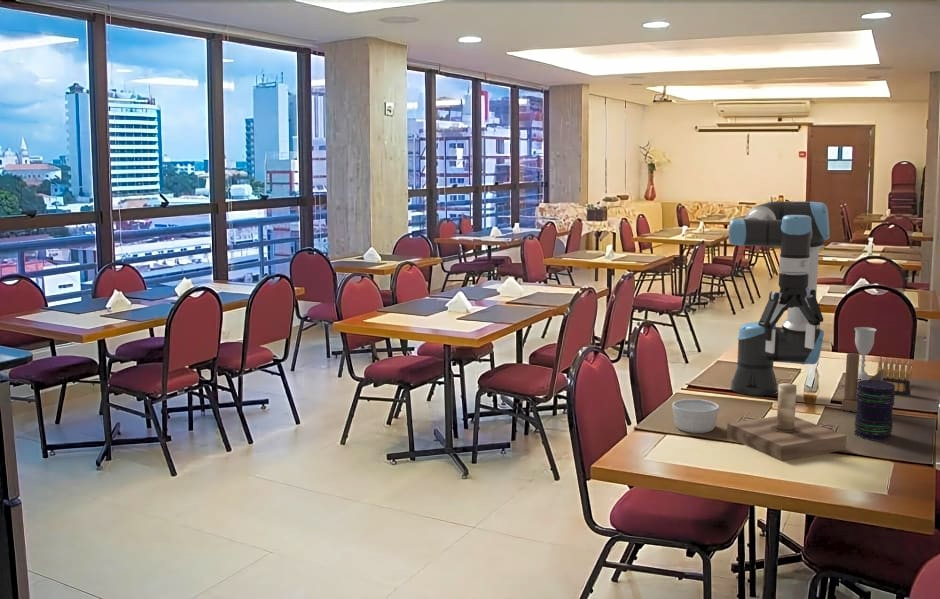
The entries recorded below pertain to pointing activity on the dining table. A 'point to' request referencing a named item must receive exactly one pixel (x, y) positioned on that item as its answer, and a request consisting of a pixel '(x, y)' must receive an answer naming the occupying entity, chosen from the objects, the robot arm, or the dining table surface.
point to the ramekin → (695, 415)
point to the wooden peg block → (854, 382)
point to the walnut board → (786, 438)
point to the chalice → (864, 346)
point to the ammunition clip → (897, 375)
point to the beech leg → (786, 407)
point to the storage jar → (874, 409)
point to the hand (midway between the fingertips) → (789, 350)
